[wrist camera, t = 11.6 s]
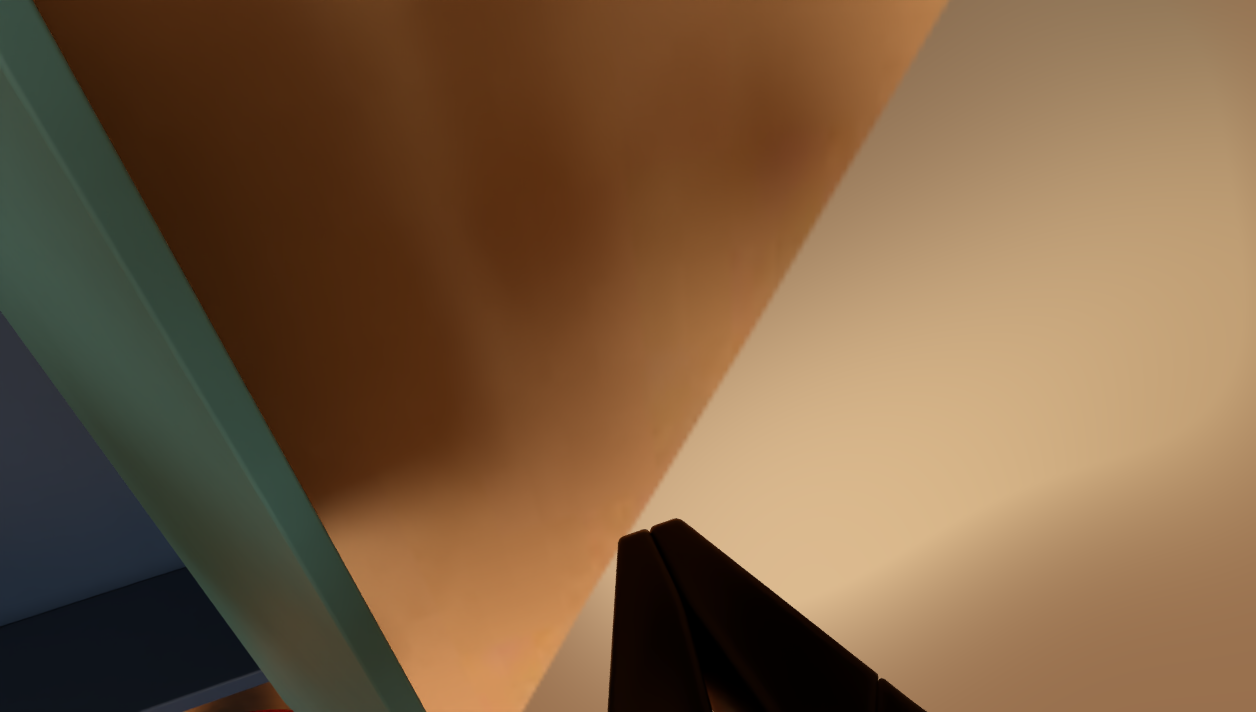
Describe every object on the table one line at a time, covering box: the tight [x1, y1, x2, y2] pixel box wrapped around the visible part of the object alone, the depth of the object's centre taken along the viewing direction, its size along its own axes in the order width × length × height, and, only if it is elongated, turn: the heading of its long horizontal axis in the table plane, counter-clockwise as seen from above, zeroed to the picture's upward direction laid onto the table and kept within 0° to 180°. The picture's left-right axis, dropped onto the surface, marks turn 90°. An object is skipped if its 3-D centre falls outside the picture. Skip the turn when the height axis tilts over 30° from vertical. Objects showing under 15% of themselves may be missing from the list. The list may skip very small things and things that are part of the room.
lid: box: [0, 0, 426, 712], centre depth 12 cm, size 8×16×1 cm
